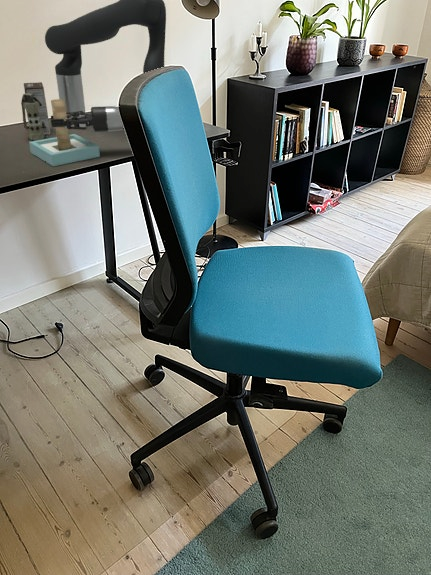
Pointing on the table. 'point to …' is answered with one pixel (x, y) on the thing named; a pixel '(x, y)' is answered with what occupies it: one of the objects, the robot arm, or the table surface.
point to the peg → (61, 132)
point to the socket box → (54, 157)
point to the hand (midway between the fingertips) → (51, 121)
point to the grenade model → (32, 116)
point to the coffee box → (40, 96)
